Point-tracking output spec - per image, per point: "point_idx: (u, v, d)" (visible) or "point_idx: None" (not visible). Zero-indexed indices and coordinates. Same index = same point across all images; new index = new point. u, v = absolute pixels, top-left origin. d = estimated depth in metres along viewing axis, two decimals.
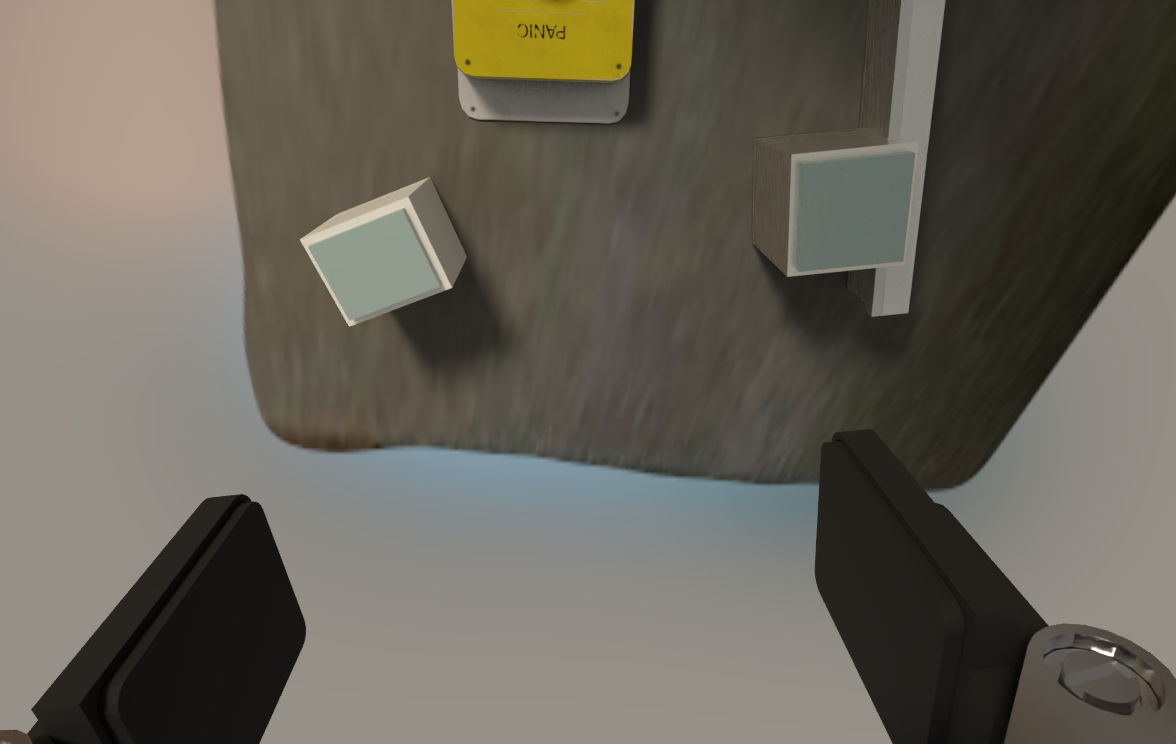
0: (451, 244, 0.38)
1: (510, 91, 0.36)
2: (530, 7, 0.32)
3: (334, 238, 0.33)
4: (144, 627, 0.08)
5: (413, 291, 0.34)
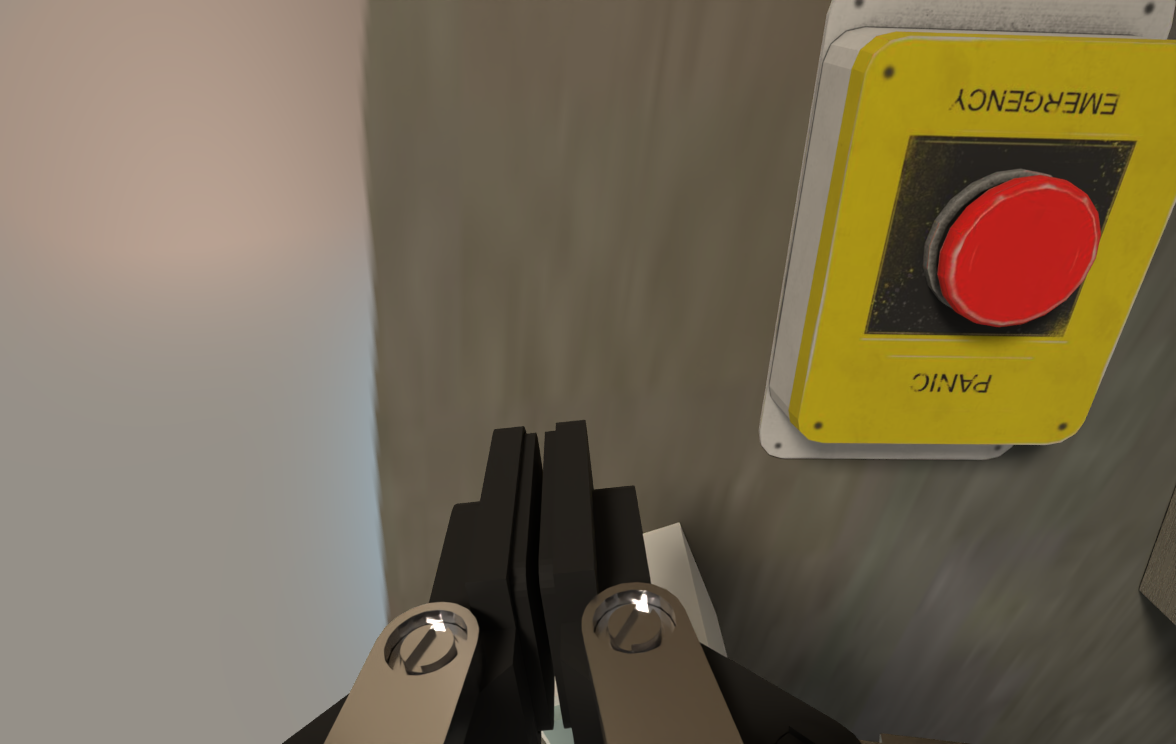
0: (717, 631, 0.25)
1: None
2: (941, 351, 0.19)
3: None
4: (514, 524, 0.09)
5: None
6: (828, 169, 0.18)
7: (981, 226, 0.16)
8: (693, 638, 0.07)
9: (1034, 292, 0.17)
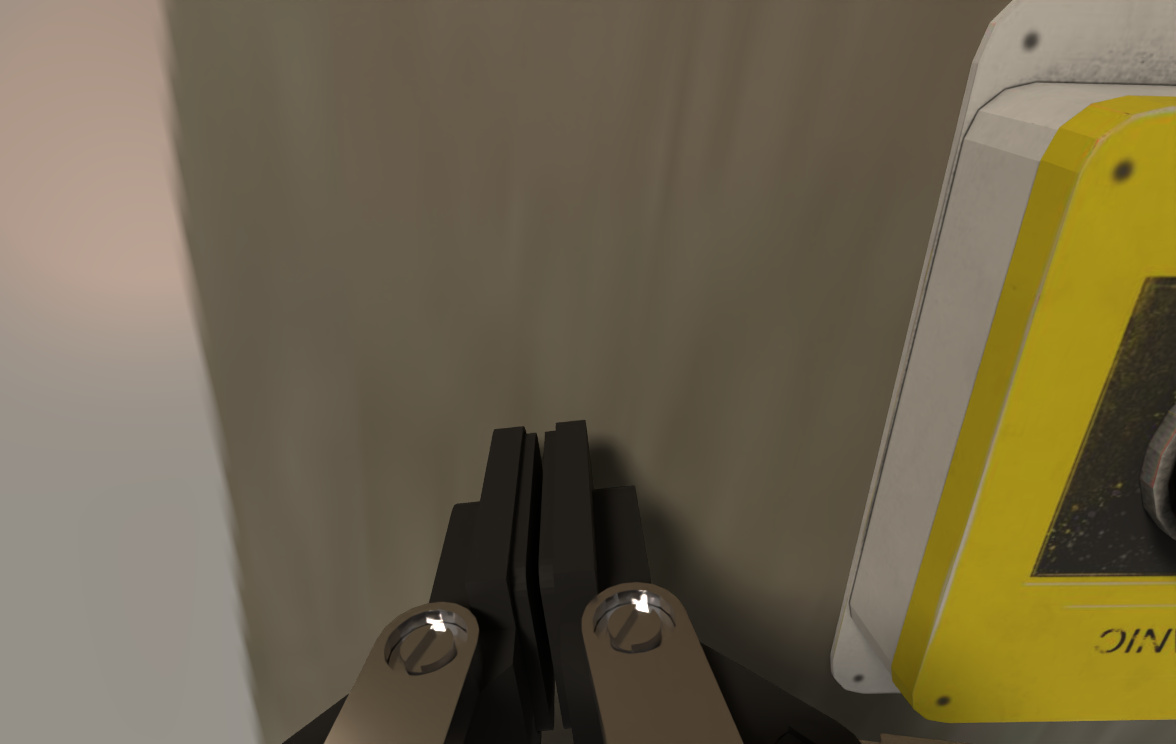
0: None
1: None
2: (1151, 598, 0.12)
3: None
4: (514, 525, 0.09)
5: None
6: (979, 319, 0.10)
7: None
8: (693, 638, 0.07)
9: None
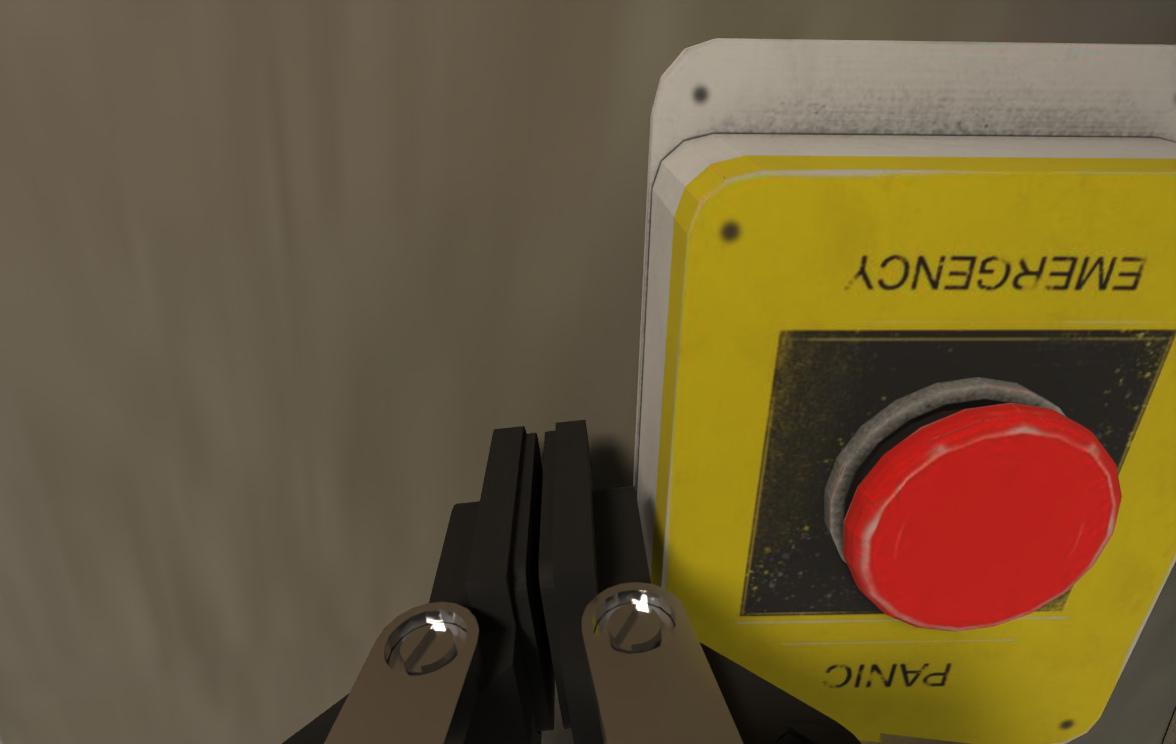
0: None
1: None
2: (867, 635, 0.12)
3: None
4: (514, 525, 0.09)
5: None
6: (662, 367, 0.11)
7: (909, 493, 0.09)
8: (693, 638, 0.07)
9: (1009, 585, 0.10)
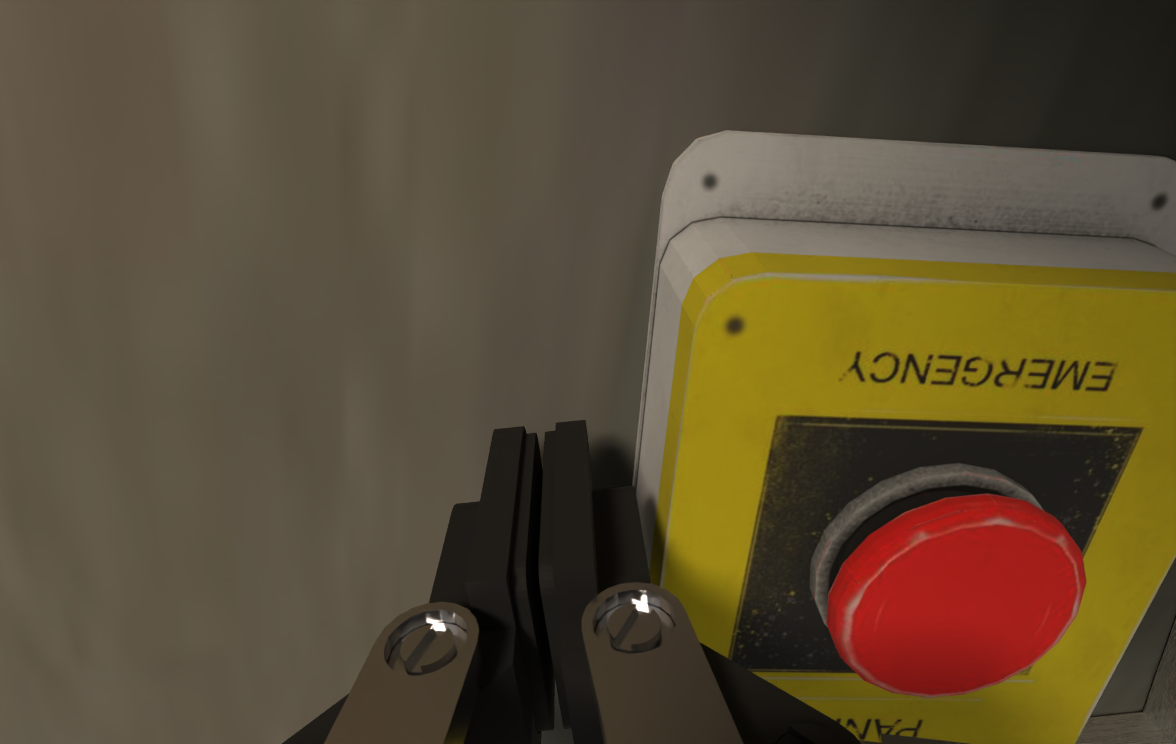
0: None
1: None
2: (845, 692, 0.13)
3: None
4: (514, 525, 0.09)
5: None
6: (662, 436, 0.11)
7: (891, 573, 0.10)
8: (693, 638, 0.07)
9: (980, 658, 0.11)
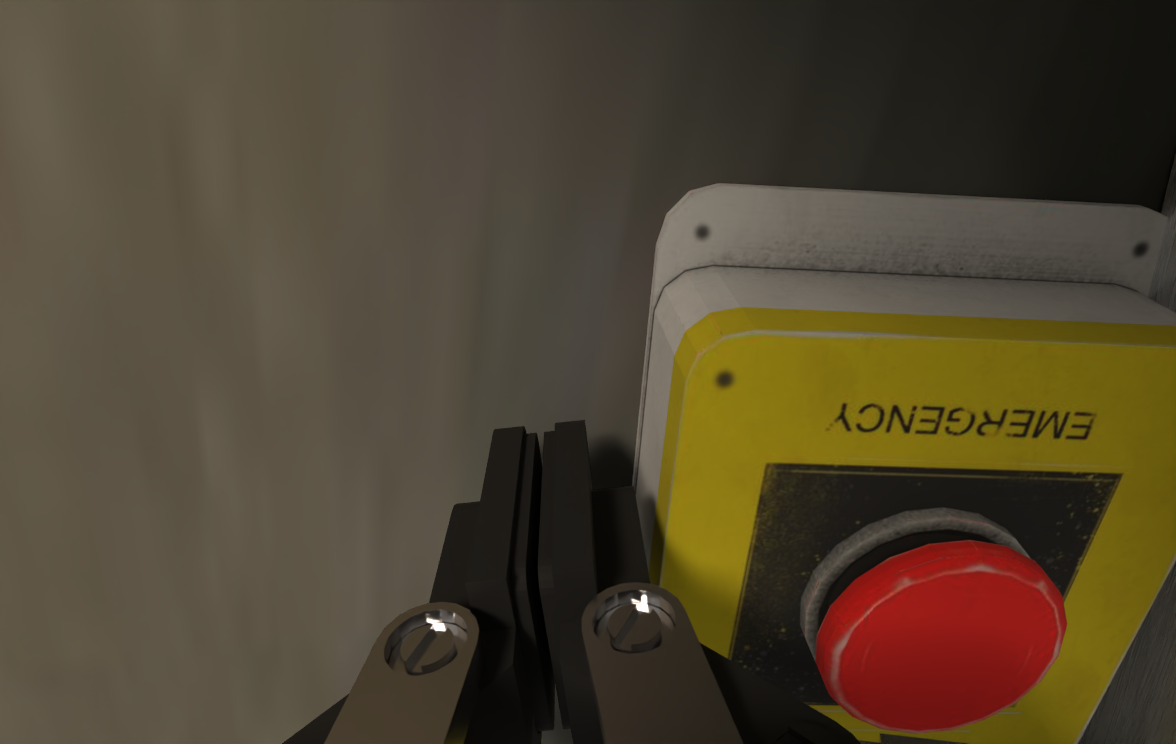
0: None
1: None
2: None
3: None
4: (514, 525, 0.09)
5: None
6: (656, 478, 0.12)
7: (876, 617, 0.10)
8: (693, 638, 0.07)
9: (964, 697, 0.11)
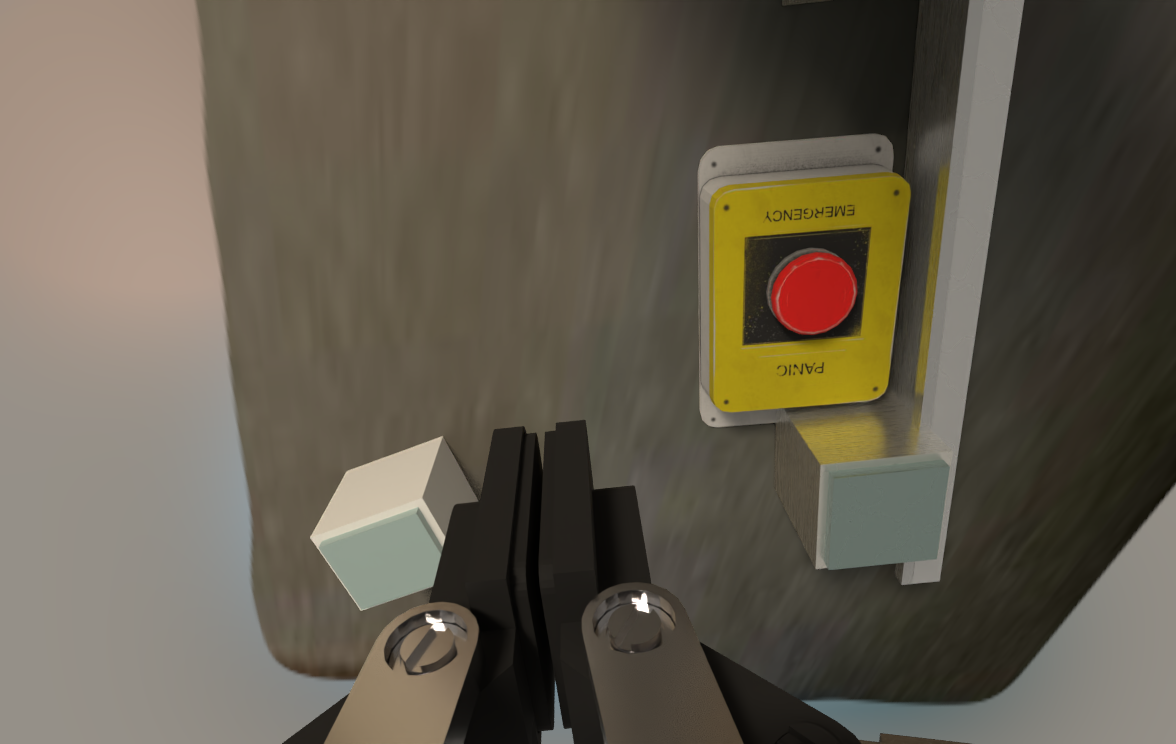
0: None
1: None
2: (790, 351, 0.33)
3: (345, 540, 0.32)
4: (514, 525, 0.09)
5: (427, 583, 0.33)
6: (708, 256, 0.32)
7: (788, 282, 0.30)
8: (693, 638, 0.07)
9: (826, 314, 0.31)
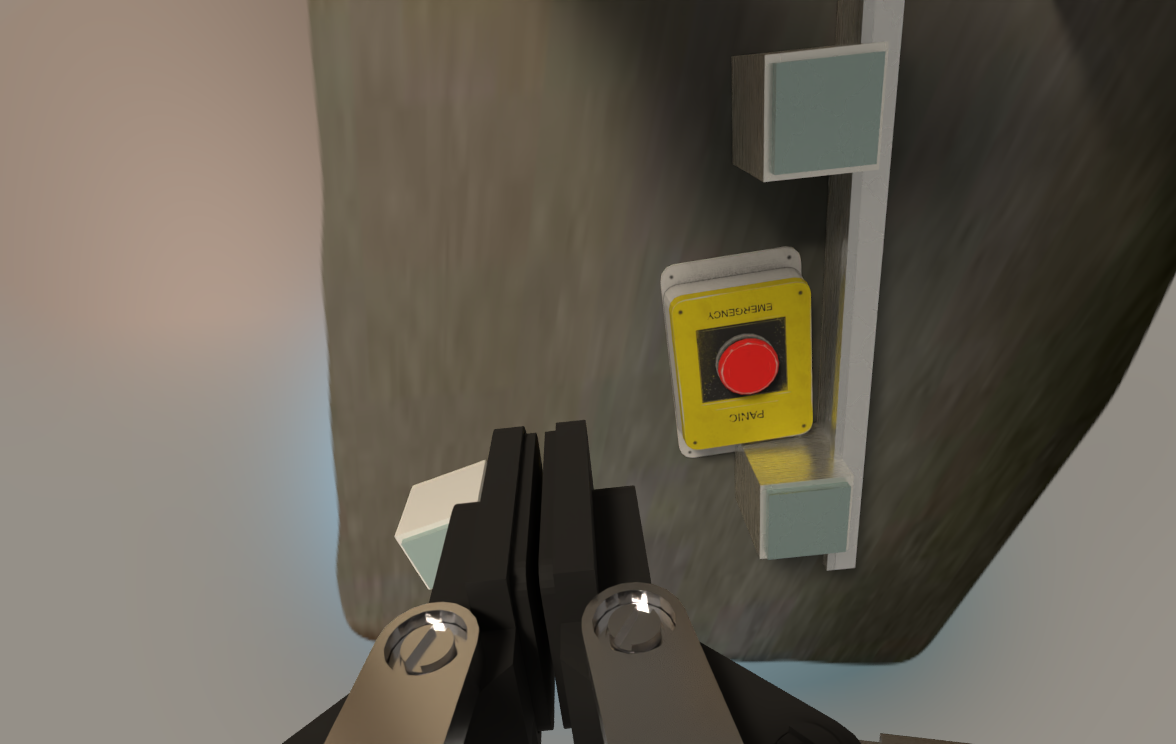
0: None
1: None
2: (737, 404, 0.45)
3: (421, 538, 0.44)
4: (514, 525, 0.09)
5: None
6: (672, 342, 0.44)
7: (728, 361, 0.42)
8: (693, 638, 0.07)
9: (758, 380, 0.43)
